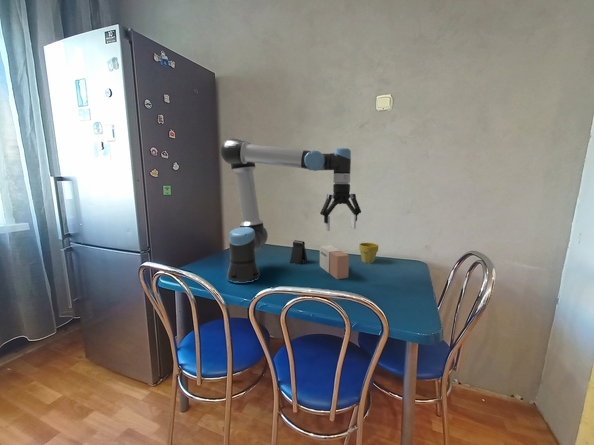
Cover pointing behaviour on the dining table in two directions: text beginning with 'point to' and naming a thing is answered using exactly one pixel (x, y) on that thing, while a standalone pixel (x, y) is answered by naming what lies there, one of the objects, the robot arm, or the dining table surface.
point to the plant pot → (368, 252)
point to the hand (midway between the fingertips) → (340, 229)
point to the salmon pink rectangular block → (339, 264)
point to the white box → (326, 256)
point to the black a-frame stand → (298, 252)
